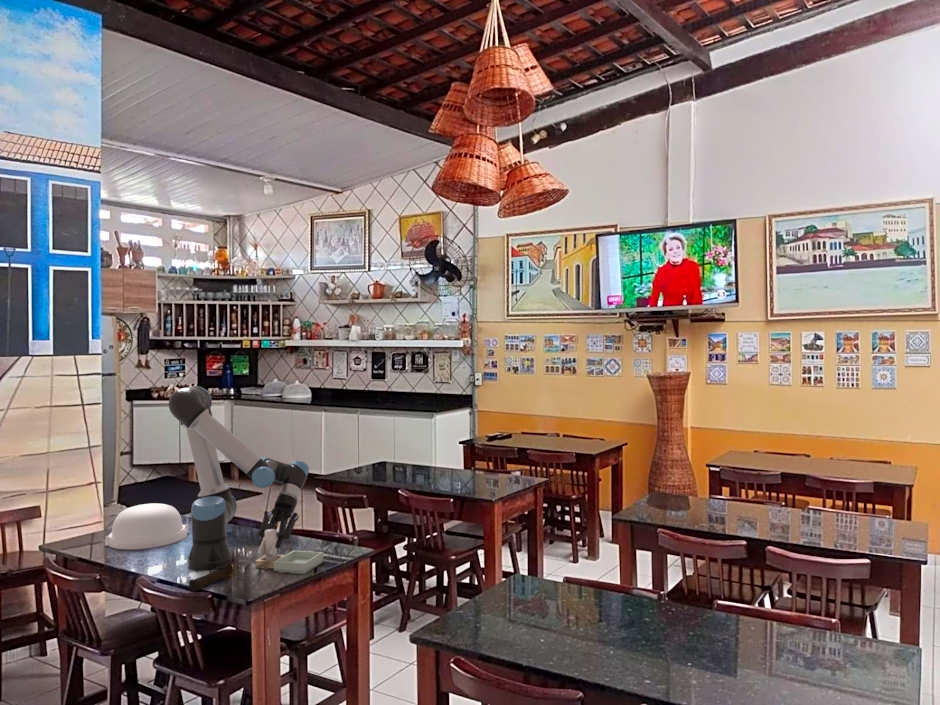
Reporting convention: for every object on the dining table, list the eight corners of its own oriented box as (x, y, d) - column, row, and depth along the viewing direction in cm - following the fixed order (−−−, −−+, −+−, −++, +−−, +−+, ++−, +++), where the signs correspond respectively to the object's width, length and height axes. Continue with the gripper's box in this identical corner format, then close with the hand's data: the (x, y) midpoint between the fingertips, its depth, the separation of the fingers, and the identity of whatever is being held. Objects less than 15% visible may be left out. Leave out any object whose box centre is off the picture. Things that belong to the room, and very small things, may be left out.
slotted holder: (255, 567, 265) (255, 560, 265) (267, 561, 273) (267, 554, 273) (275, 569, 263) (275, 561, 263) (286, 562, 271) (286, 555, 270)
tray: (273, 571, 260) (273, 561, 260) (293, 559, 273) (293, 550, 273) (305, 573, 257) (304, 563, 256) (323, 561, 270) (323, 552, 270)
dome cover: (182, 526, 329) (181, 494, 328) (196, 541, 303) (194, 506, 303) (101, 537, 312) (100, 504, 312) (109, 554, 287) (107, 518, 286)
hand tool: (197, 593, 240) (197, 578, 240) (188, 591, 242) (188, 577, 242) (239, 575, 258) (238, 562, 257) (230, 574, 259) (229, 561, 259)
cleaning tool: (263, 564, 266) (262, 531, 266) (269, 561, 270) (268, 528, 270) (273, 565, 265) (272, 532, 265) (279, 561, 269) (278, 529, 269)
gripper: (312, 505, 280) (291, 561, 264) (271, 503, 284) (248, 558, 269) (305, 494, 275) (283, 551, 259) (263, 492, 279) (240, 548, 264)
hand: (265, 555), depth 264 cm, fingers closed on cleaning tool, 4 cm apart
